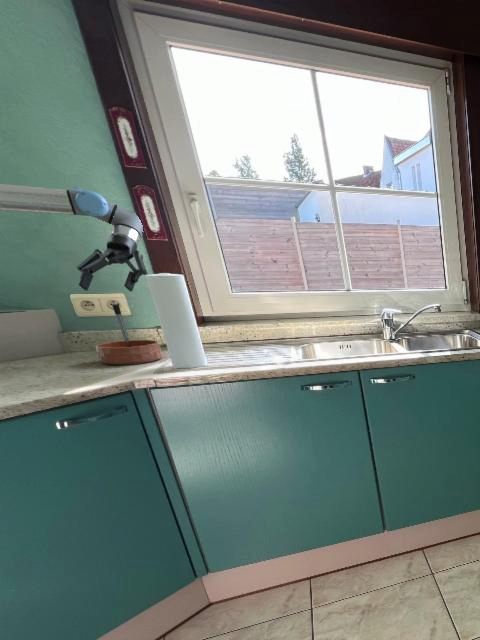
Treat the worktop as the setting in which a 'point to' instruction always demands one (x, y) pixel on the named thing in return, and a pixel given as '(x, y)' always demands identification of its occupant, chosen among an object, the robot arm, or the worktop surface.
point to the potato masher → (122, 325)
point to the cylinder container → (177, 320)
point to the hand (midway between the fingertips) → (105, 288)
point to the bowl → (129, 352)
